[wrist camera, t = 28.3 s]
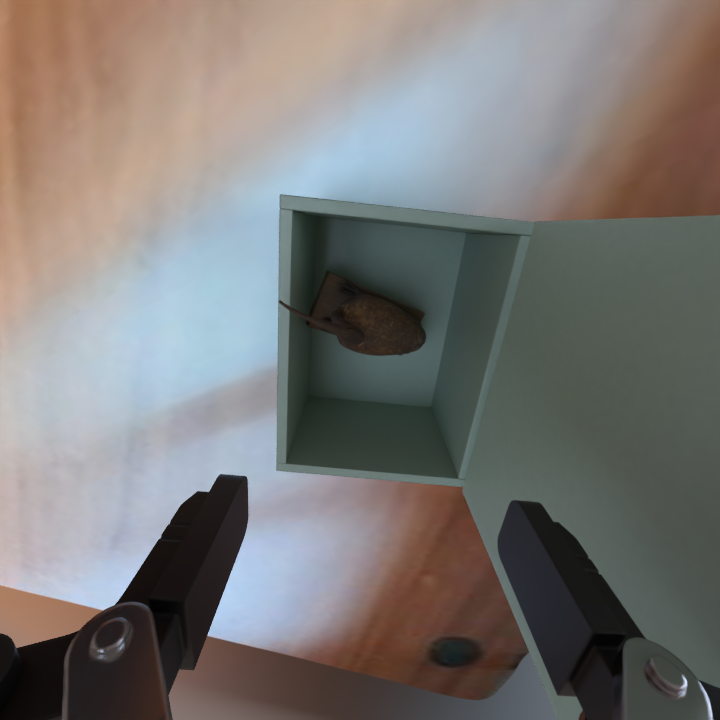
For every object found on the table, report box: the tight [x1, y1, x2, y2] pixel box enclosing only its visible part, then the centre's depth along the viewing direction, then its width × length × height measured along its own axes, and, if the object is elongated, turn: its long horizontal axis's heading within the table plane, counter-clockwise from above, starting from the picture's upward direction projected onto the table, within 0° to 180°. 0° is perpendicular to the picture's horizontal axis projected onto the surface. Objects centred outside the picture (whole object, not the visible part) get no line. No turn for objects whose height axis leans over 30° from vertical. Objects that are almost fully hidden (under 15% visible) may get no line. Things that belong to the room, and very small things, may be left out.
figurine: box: [279, 271, 426, 356], centre depth 24 cm, size 14×4×9 cm, turn 64°
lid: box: [462, 215, 720, 720], centre depth 14 cm, size 15×18×6 cm
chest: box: [276, 194, 534, 487], centre depth 26 cm, size 14×18×11 cm
